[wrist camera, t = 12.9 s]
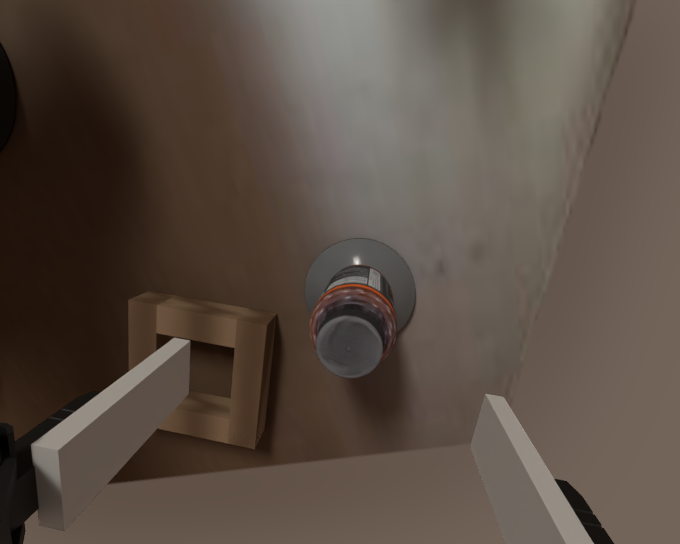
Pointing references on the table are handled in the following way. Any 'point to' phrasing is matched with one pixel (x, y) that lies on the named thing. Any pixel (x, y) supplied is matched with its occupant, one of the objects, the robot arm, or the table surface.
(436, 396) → the table surface
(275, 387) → the table surface
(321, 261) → the grey domed disc
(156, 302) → the pocket holder
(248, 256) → the table surface
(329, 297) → the supplement bottle
